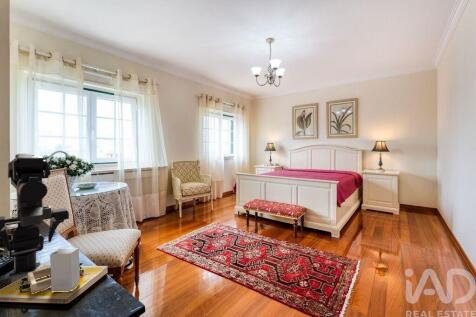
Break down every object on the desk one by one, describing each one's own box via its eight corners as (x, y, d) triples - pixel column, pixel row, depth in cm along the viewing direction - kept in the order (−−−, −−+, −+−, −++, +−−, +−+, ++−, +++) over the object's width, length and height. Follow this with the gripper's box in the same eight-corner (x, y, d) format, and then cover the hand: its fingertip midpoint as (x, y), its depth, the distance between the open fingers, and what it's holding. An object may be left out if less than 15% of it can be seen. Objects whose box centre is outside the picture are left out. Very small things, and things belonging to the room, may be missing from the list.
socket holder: (27, 281, 72) (27, 272, 72) (66, 270, 79) (66, 261, 79) (32, 294, 65) (32, 284, 65) (73, 280, 73) (73, 271, 73)
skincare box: (80, 284, 70) (80, 247, 70) (71, 293, 66) (71, 253, 66) (60, 285, 70) (60, 247, 70) (49, 294, 65) (49, 254, 65)
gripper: (-18, 205, 56) (-18, 266, 56) (72, 196, 70) (72, 245, 70) (-15, 199, 64) (-15, 252, 64) (65, 192, 77) (65, 235, 78)
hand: (30, 246), depth 69 cm, fingers open, 9 cm apart
